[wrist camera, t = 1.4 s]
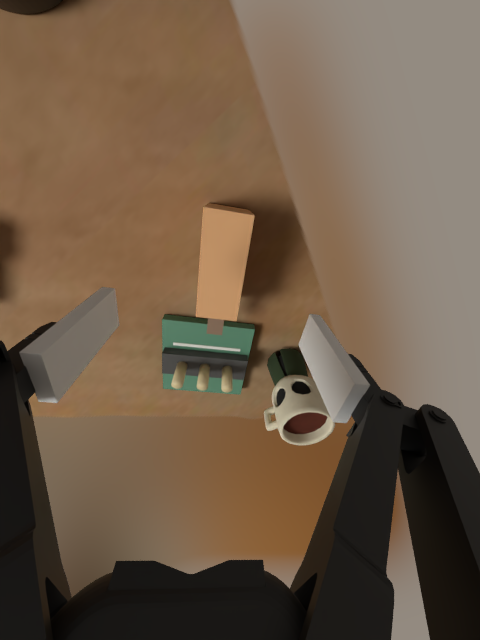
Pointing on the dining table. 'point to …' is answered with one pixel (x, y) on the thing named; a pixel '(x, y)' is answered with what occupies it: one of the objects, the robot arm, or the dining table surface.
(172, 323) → the board
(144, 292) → the dining table surface
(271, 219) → the dining table surface
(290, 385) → the character mug
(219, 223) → the block
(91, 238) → the dining table surface
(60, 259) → the dining table surface
